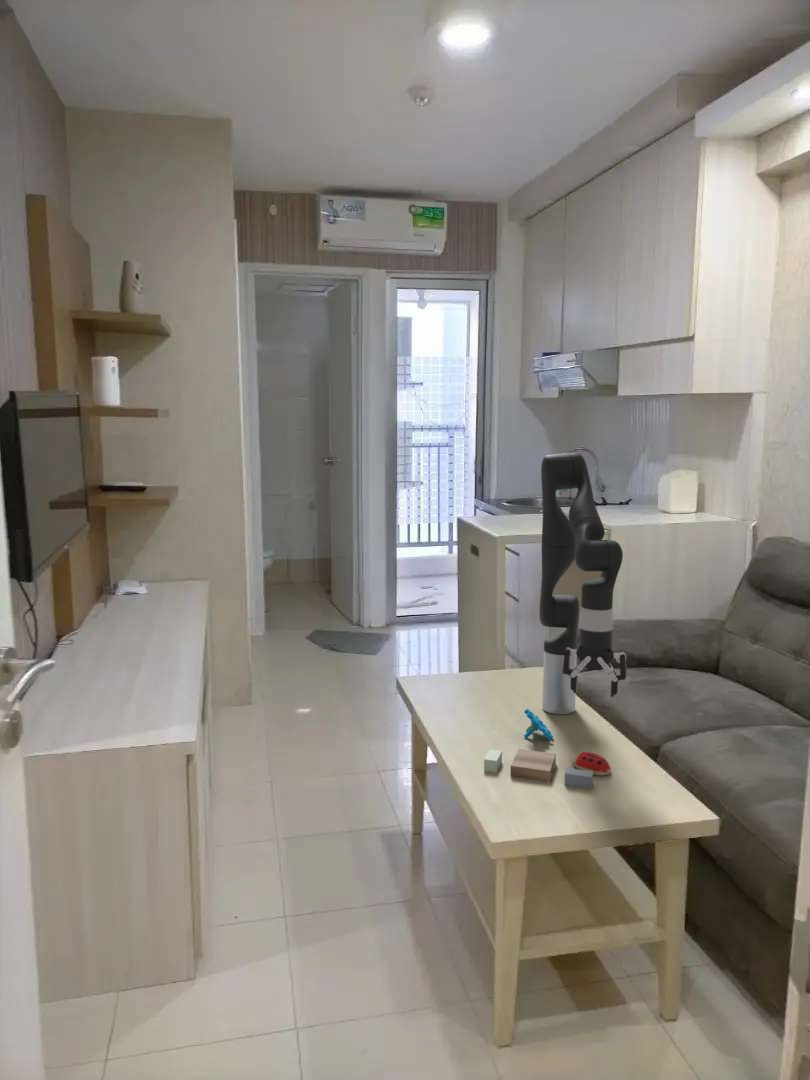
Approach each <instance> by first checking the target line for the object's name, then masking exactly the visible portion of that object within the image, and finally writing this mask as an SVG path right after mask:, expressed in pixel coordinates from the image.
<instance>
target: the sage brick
mask: <svg viewBox="0 0 810 1080" xmlns="http://www.w3.org/2000/svg"><path fill="white" fill-rule="evenodd" d="M502 762H503V750H497V749H491V748H490V749H489V750H488V752H487V753H486V755H485V757H484V759H483V771H485V772H492V773H497V772H498V770H499V768H500V766H501V765H502Z"/></svg>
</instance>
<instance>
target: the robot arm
mask: <svg viewBox="0 0 810 1080" xmlns="http://www.w3.org/2000/svg"><path fill="white" fill-rule="evenodd" d="M540 473H541V474H540V476H541V477H540V479H541V494H542V495H541V496H542V530H541V584H540V585H541V586H540V599H539V621H540V624H541V625H542V626H543V627H546V628H547V627H548V628H558V629H559V628H560V629H561V628H563V629H565V630H564V631H562V632H561V633H559V634H557V635H553V636H550V637H548V638H546V639H545V640H544V643H543V666H542V667H543V670H542V672H543V673H542V702H541V703H542V704H541V705H542V706H541V707H542V710H544V711H545V712H546V713H549V714H552V715H553V714H555V715H568V714H572V713H574V712H575V711H576V698H577V696H576V695H577V693H578V686H579V685H578V681H579V679H578V677H579V675H578V674H579V673H580V672H581V671H582V670H583V669H584V668H585V669H587V670H596V671H605V673H606V674H607V675H608V676H609V677H610V679H611V682H610V697H612V698H615V696H616V695H617V694H618V691H619V689H618V688H619V687H618V686H619V681H625V680H626V679H627V653H626V652H625V651H622V652H614V651H613V637H614V636H613V633H614V611H613V606H614V605H613V604H614V603H613V601H614V590H615V585H616V582H617V578H618V574H619V572H620V569H621V566H622V563H623V558H624V557H623V556H624V554H623V549H622V547H621V545H620V543H619V542H618V541H616V540H608V539H605V540H603V539H604V537H605V535H606V532H605V527H604V524H603V522H602V520H601V516H600V515H599V513H598V509H597V507H596V503H595V499H594V494H593V489H592V483H591V478H590V473H589V470H588V466H587V462H586V460H585V458H584V456H583V455H582V454H581V453H579V452H568V453H567V452H566V453H554V454H553V453H552V454H548V455H545V456H543V459H542V462H541V468H540ZM573 489H577V493H576V495H575V496H574V497H575V498H574V499H573V501H572V502H571V505H570V507H569V510H568V517H567V515H566V514H565V513H564V510H563V509H562V508H561V506H560V504H559V502H558V500H557V495H556V494H557V491H561V490H563V491H564V490H573ZM574 561H575V565H576V567H578V569H580V570H581V571H584V572H601V574H600V575H599V577H597V578H595V579H591V580H587V581H585V582H583V583H582V586H581V598H580V599H581V602H580V601H579V598H578V597H577V596H576V595H573V594H555V593H554V594H553V592H554V591H555V588H556V586H557V584H558V582H559V581H560V579H561V578H562V576H563V575H564V574H565V573H566V572H567V571H568V569H570V568H571V566H572V564H573V563H574ZM580 603H581V604H580ZM578 628H579V629H578ZM578 630H579V631H578ZM577 659H579V662H578V664H577ZM613 659H615V660H616V663H618V664H619V673H618V672H617V671H616V670H615V668H614V667H613V665H612V664H611V662H612V661H613Z"/></svg>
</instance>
